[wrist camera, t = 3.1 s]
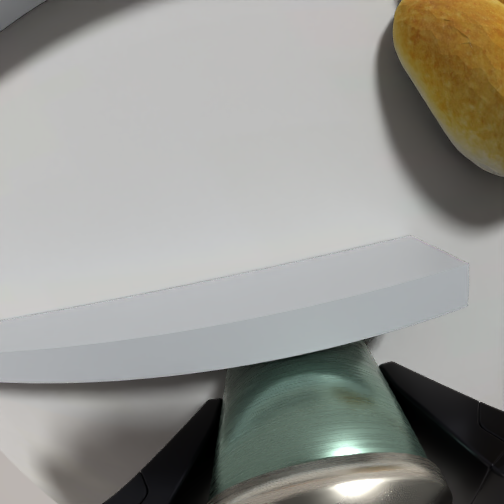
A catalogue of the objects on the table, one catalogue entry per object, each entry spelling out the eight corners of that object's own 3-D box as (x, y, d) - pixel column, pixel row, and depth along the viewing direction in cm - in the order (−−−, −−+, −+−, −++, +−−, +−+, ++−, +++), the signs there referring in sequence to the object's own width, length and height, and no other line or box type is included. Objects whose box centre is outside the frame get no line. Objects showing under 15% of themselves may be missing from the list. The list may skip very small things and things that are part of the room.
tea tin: (370, 403, 10) (428, 547, 4) (244, 430, 10) (236, 584, 4) (362, 287, 9) (480, 437, 3) (207, 320, 9) (150, 503, 3)
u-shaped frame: (413, 267, 9) (468, 306, 6) (-44, 347, 10) (-79, 374, 7) (306, -92, 6) (316, -144, 3) (-91, 105, 7) (-129, 104, 4)
